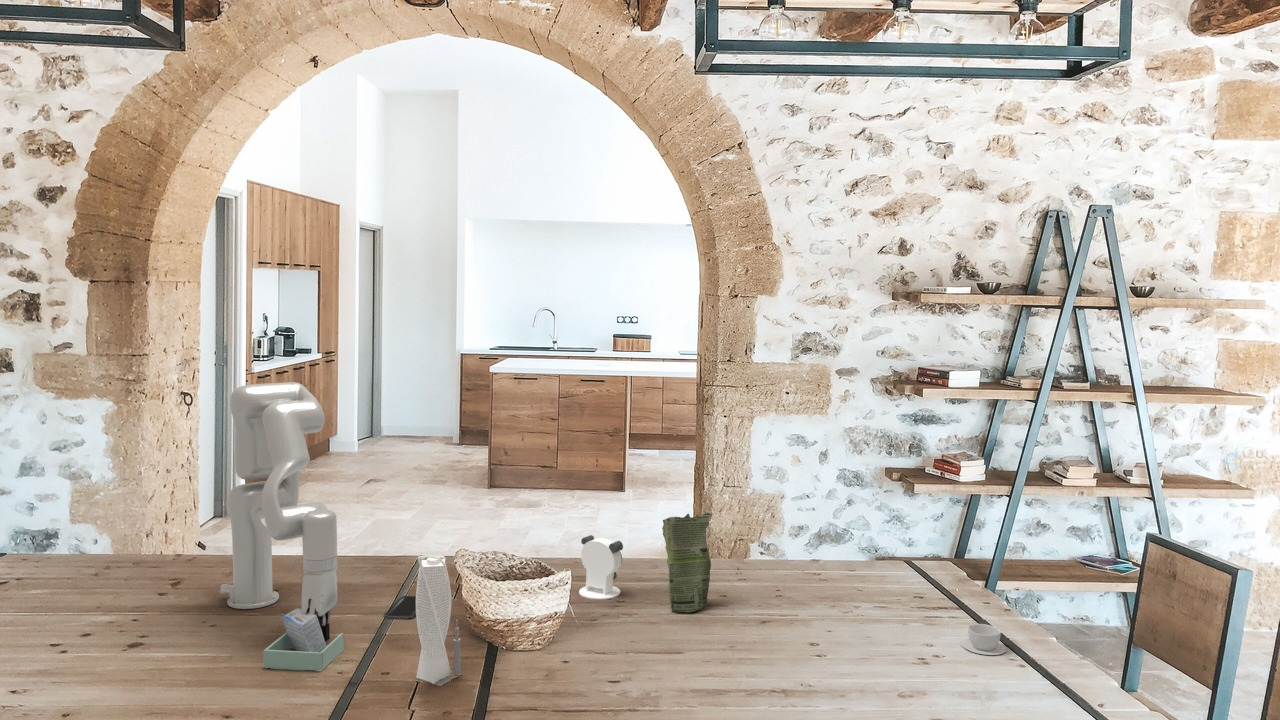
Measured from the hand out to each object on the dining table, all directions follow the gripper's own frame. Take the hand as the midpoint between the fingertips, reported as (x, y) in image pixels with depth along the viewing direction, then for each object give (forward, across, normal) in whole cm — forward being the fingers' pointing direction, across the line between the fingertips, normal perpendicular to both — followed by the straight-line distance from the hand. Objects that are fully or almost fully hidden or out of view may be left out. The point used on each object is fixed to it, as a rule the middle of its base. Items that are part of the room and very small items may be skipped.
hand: (321, 640), depth 217 cm
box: (+1, +8, 0) cm, 8 cm away
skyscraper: (+2, +14, +31) cm, 34 cm away
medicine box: (+1, +3, -2) cm, 4 cm away
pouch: (+2, -36, +84) cm, 92 cm away
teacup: (+2, -16, +155) cm, 156 cm away
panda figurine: (+2, -45, +60) cm, 75 cm away
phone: (+2, -26, +12) cm, 29 cm away
